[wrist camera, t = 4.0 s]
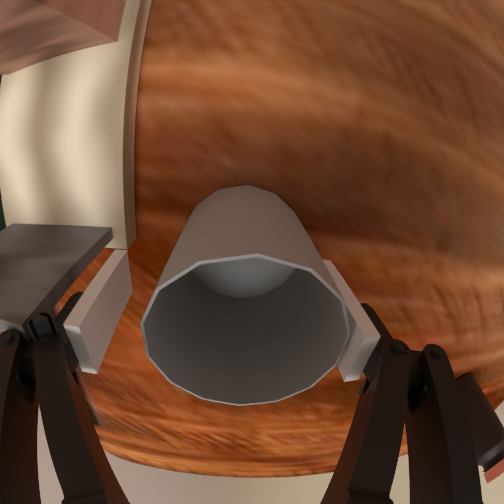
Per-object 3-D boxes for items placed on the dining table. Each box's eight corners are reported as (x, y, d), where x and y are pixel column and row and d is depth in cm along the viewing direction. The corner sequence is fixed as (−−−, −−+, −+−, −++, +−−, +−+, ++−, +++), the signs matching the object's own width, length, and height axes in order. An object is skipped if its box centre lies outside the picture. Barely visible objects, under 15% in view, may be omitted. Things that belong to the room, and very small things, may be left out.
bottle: (439, 404, 34) (477, 489, 16) (441, 387, 31) (488, 483, 13) (468, 384, 33) (511, 464, 15) (473, 366, 30) (525, 454, 12)
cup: (164, 211, 18) (102, 296, 9) (279, 167, 17) (324, 217, 8) (213, 306, 22) (202, 416, 13) (313, 274, 21) (357, 376, 12)
